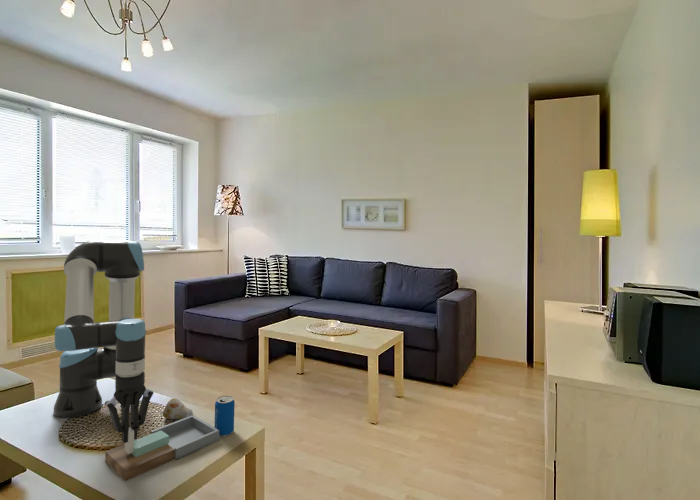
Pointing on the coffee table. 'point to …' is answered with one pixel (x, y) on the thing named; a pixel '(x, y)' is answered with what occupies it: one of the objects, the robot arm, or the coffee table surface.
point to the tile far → (158, 439)
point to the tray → (189, 435)
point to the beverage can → (224, 415)
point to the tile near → (142, 446)
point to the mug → (176, 410)
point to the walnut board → (137, 460)
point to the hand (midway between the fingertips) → (129, 451)
